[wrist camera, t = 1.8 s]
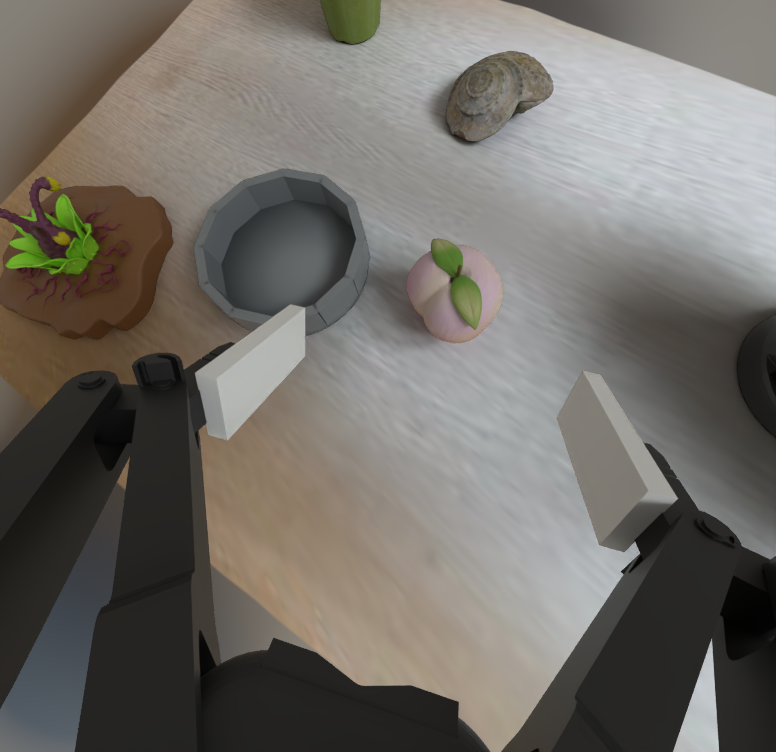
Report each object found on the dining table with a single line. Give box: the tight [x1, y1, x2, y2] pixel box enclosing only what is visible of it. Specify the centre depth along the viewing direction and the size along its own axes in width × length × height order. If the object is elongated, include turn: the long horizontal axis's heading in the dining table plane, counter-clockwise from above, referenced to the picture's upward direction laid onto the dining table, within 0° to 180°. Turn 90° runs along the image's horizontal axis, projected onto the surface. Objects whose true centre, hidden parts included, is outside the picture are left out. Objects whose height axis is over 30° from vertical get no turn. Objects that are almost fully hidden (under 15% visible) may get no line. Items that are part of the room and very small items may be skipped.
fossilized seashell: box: [446, 51, 553, 141], centre depth 40 cm, size 11×11×7 cm
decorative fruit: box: [406, 239, 503, 343], centre depth 31 cm, size 9×8×10 cm
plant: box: [0, 177, 173, 339], centre depth 36 cm, size 20×20×11 cm
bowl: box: [194, 169, 370, 336], centre depth 37 cm, size 18×18×4 cm
